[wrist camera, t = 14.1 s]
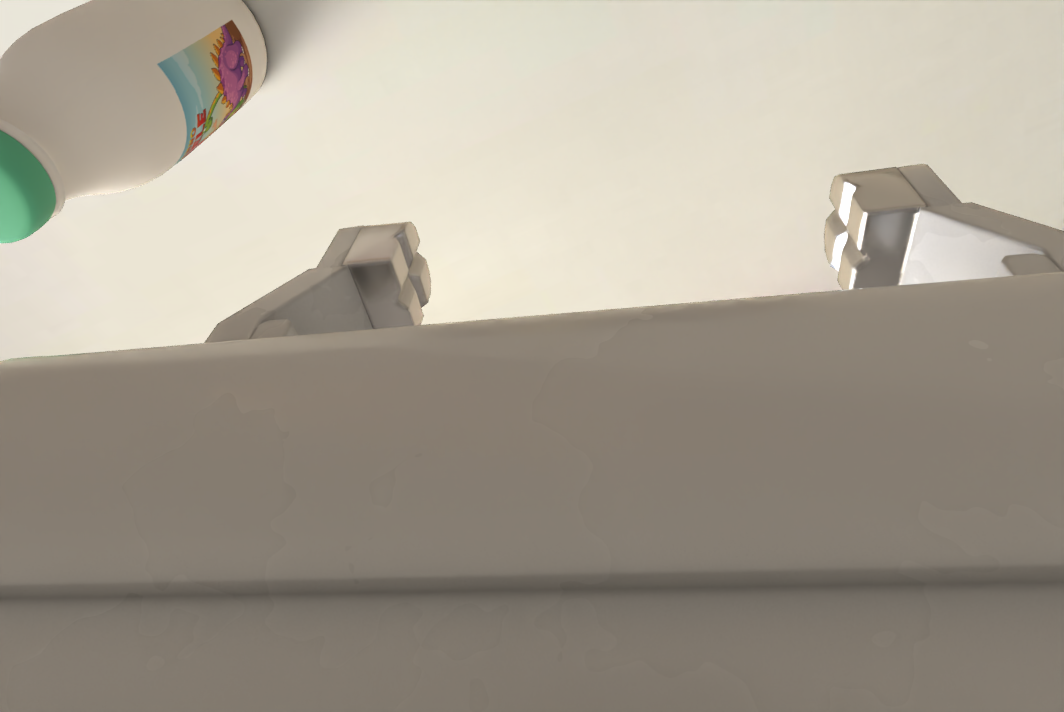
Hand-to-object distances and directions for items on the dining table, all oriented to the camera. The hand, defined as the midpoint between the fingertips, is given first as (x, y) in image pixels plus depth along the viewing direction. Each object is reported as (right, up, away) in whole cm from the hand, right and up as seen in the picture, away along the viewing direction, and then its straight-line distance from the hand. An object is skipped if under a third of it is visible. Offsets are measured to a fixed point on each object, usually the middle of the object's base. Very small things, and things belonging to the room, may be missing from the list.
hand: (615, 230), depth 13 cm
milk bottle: (-21, +17, +26) cm, 38 cm away
